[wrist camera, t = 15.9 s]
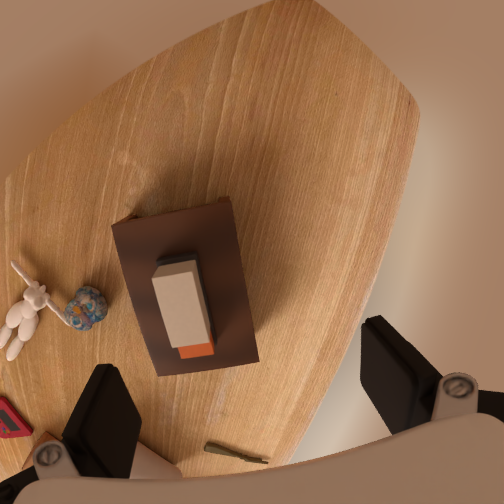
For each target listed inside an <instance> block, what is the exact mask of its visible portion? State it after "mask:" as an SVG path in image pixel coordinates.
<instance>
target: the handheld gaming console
mask: <svg viewBox="0 0 504 504" xmlns="http://www.w3.org/2000/svg"><path fill="white" fill-rule="evenodd" d="M32 433H33V430H32V429H31V428H30V426H29V425H28V424H27V423H26V422H25V421H24V420H23V419H22V417H21V416H20V415H19V414H18V413H17V411H16V410H15V409H14V408H13V407H12V405H11V404H10V403H9V402H8V400H7V399H6V398H5V397H0V437H1V438H15V437H23V436H31V435H32Z"/></svg>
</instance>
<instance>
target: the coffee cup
mask: <svg viewBox="0 0 504 504" xmlns="http://www.w3.org/2000/svg"><path fill="white" fill-rule="evenodd" d="M178 478H182V473H181V470H180V469H179V468H178V467H176V466H174V465H173V464H171V463H170V462H168V461H166V460H165V459H163V458H162V457H160V456H159V455H157V454H156V453H154V452H153V451H151V450H150V449H148V448H147V447H146V446H144V445H143V444H141V443H140V442H139V441H138V442H137V446H136V450H135V455H134V460H133V464H132V469H131V474H130V479H178Z"/></svg>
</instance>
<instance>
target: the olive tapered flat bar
mask: <svg viewBox="0 0 504 504" xmlns="http://www.w3.org/2000/svg"><path fill="white" fill-rule="evenodd" d="M204 451H205V452H210V453H216V454H221V455H227V456H232V457H239V458H240V459H244V460H245V461H246V462H253V463H261V464H268V462H266V461H262V459H258V458H251V457H247V455H242V454H240V453H237V452H234V451H232V450H229V449H227V448H224V447H222V446H219V445H217V444H213V443H209V442H207V443H206V445H205V447H204Z"/></svg>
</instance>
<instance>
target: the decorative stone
mask: <svg viewBox="0 0 504 504" xmlns="http://www.w3.org/2000/svg"><path fill="white" fill-rule="evenodd" d="M106 315H107V303H106V301H105V298H104V297H103V296H102V294H101V293H100V292H99V291H98V290H97V289H94V288H92V287H90V286H85V287H82V288H79V289H78V290H77V292H76V297H75V299H73V300H71V301H70V303H69V304H68V305H67V307H66V308H65V311H64V316H65V319H66V322H67V323H68V324H69V325H70V326H71V327H73V328H74V329H76V330H79V331H87V330H89V329H91V328H92V325H93V324H94V323H95V322H99V321H101V320H103V319H104V318H105V316H106Z"/></svg>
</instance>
